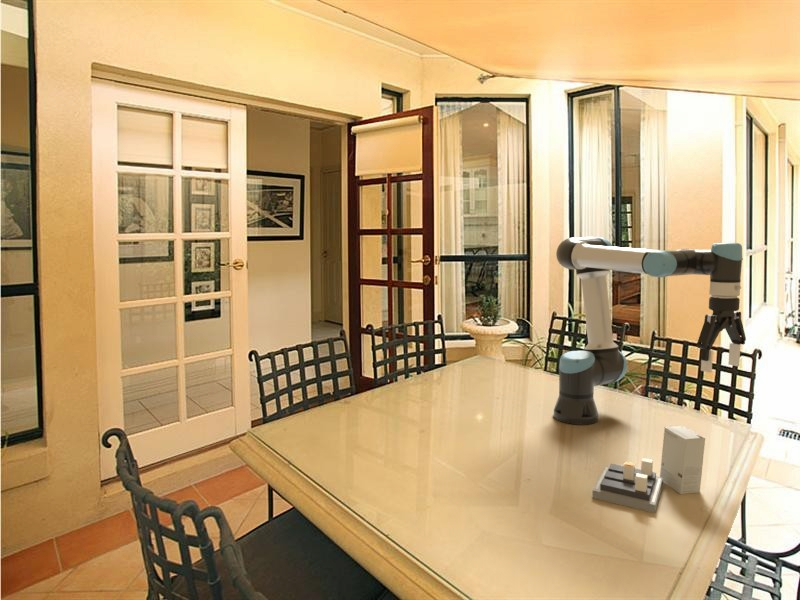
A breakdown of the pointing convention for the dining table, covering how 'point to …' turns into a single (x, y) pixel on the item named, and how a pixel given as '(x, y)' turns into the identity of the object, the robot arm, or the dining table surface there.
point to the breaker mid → (629, 471)
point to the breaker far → (646, 466)
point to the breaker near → (641, 482)
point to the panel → (628, 499)
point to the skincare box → (682, 459)
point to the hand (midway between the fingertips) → (720, 368)
